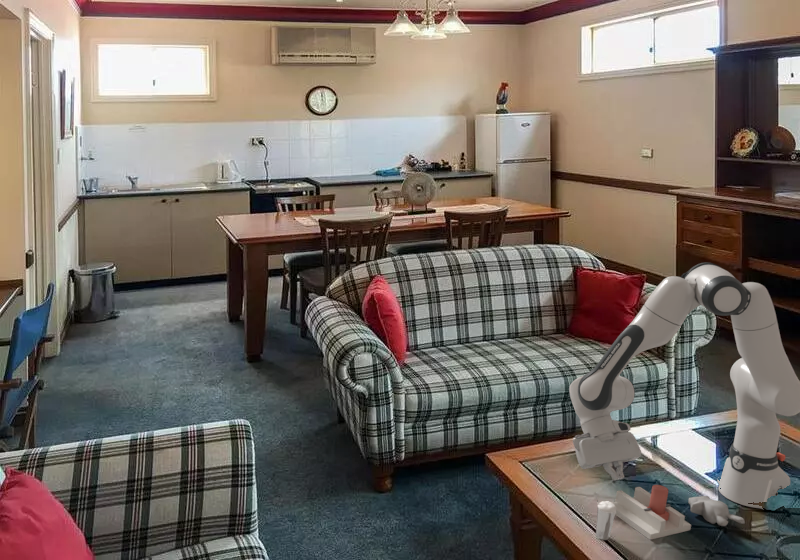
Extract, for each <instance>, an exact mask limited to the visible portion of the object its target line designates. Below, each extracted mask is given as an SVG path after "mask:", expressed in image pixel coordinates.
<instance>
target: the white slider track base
mask: <svg viewBox="0 0 800 560" xmlns="http://www.w3.org/2000/svg"><path fill="white" fill-rule="evenodd" d="M650 497H651V492H649V491H648V490H645V489H644V488H642V487H641V486H636V487H635V488H634V493H633V497H632V496H631V495H629V494H627V493H626V491H623V490H617V491H616V495H615V501H610V502H611V503H613V504H614V505H615V507H616V509H617V510H616V514H615V517H618V518H619V519H621V520H622V521H623V522H624V523H626V524H627V525H628V526H630V527H631V528H633V529H635V530H636V532H638V533H640V534H641V535H642V536H644V537H645V538H647V540H655V539H659V538H664V537H667V536H672V535H675V534H679V533H683V532H688V531H691V529H692V528H691V527H692V524H690V523H689V522H688V521H686V520H685V519H686V518H685V517H686V515H684V514H683V513H681V512H679V511H678V510H676V509H675V508H673V507H671V504H670V503H666V508H665V511H667V512H668V513H669V518H668V520H667V521H666V520H664V519H663V518H662V517H660V516H659V515H657V514H656V513H654V512H653V511H651V508H647V507H649V503H650Z"/></svg>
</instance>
